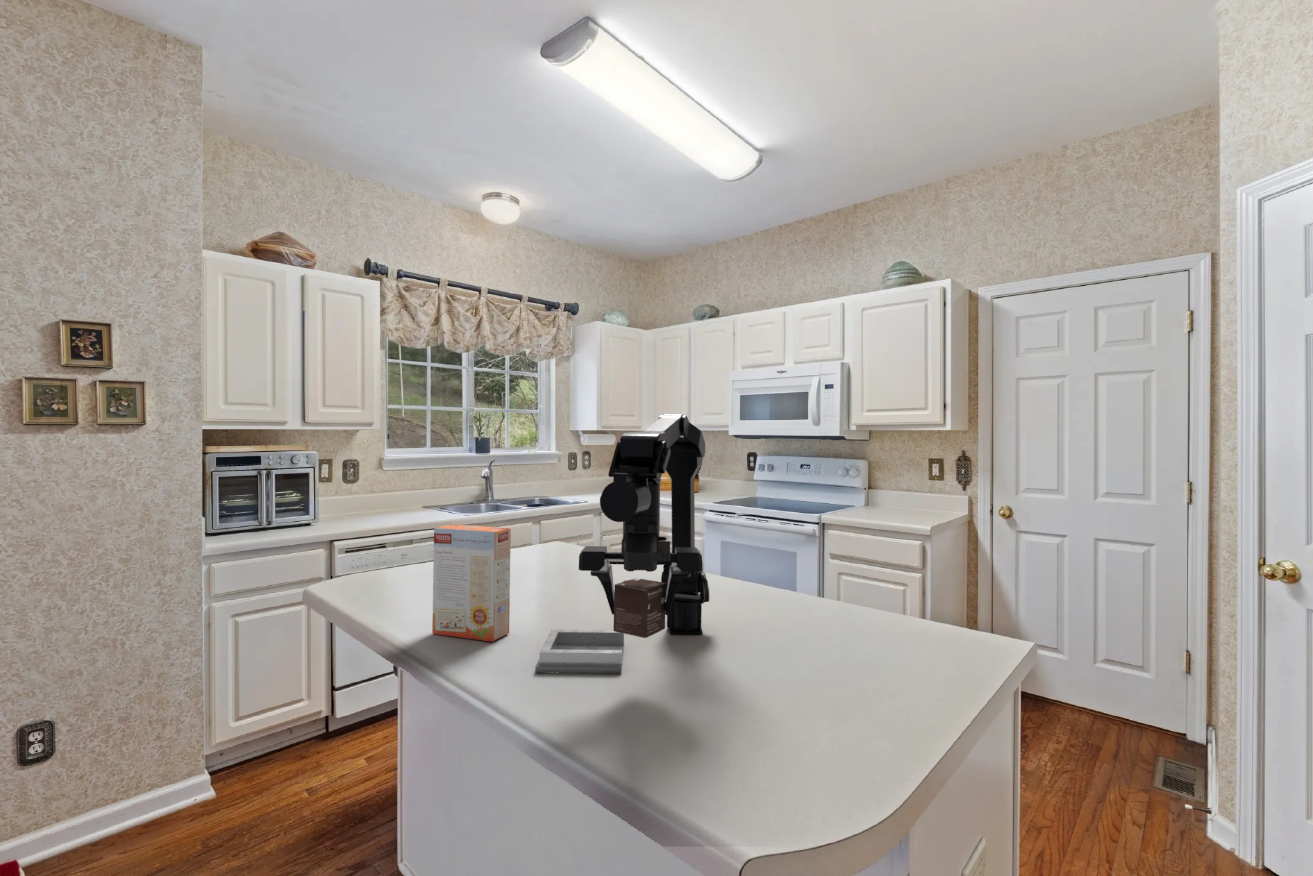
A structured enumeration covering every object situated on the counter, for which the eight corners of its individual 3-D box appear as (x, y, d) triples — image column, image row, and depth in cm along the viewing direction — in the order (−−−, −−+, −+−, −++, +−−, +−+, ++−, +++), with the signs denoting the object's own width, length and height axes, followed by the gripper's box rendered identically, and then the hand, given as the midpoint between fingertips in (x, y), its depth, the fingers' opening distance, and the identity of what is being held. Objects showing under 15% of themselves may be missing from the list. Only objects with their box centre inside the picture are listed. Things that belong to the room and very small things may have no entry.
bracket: (624, 644, 112) (624, 628, 112) (620, 673, 98) (621, 655, 98) (549, 643, 112) (549, 627, 112) (535, 673, 98) (535, 654, 98)
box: (645, 639, 89) (646, 590, 89) (612, 632, 92) (613, 584, 92) (665, 629, 94) (667, 582, 94) (634, 622, 97) (635, 577, 97)
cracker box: (510, 633, 117) (512, 527, 117) (492, 643, 111) (494, 531, 112) (451, 625, 122) (452, 522, 122) (430, 634, 116) (432, 526, 116)
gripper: (575, 520, 85) (573, 630, 85) (706, 521, 85) (704, 631, 85) (583, 510, 96) (582, 607, 96) (699, 512, 96) (698, 609, 96)
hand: (640, 614), depth 93 cm, fingers closed on box, 8 cm apart
